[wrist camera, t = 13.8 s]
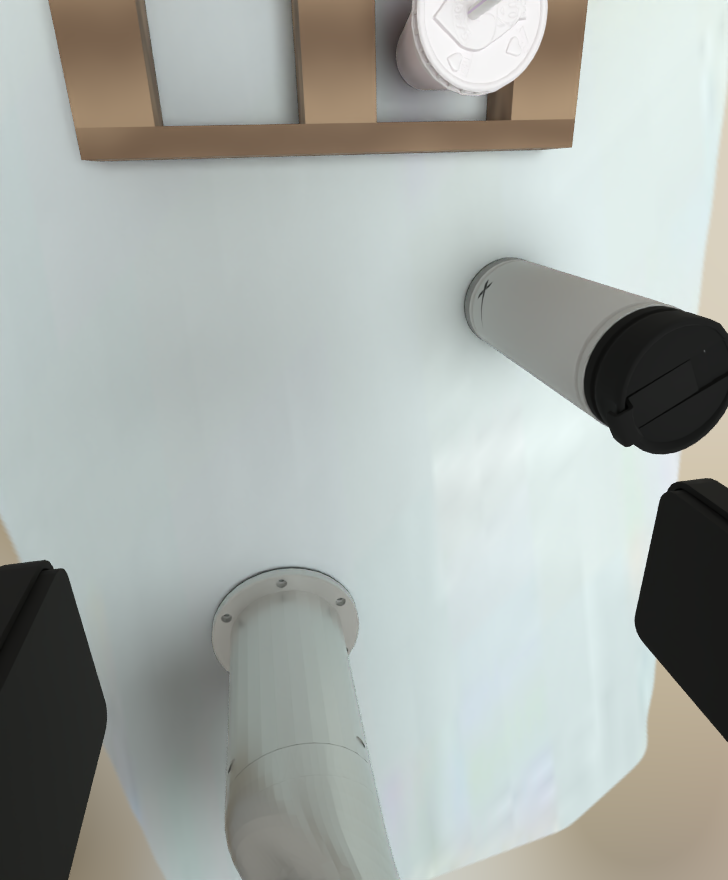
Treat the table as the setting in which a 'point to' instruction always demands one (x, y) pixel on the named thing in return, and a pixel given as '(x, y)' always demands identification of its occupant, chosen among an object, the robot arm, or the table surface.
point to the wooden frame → (303, 90)
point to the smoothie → (469, 43)
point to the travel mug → (606, 351)
